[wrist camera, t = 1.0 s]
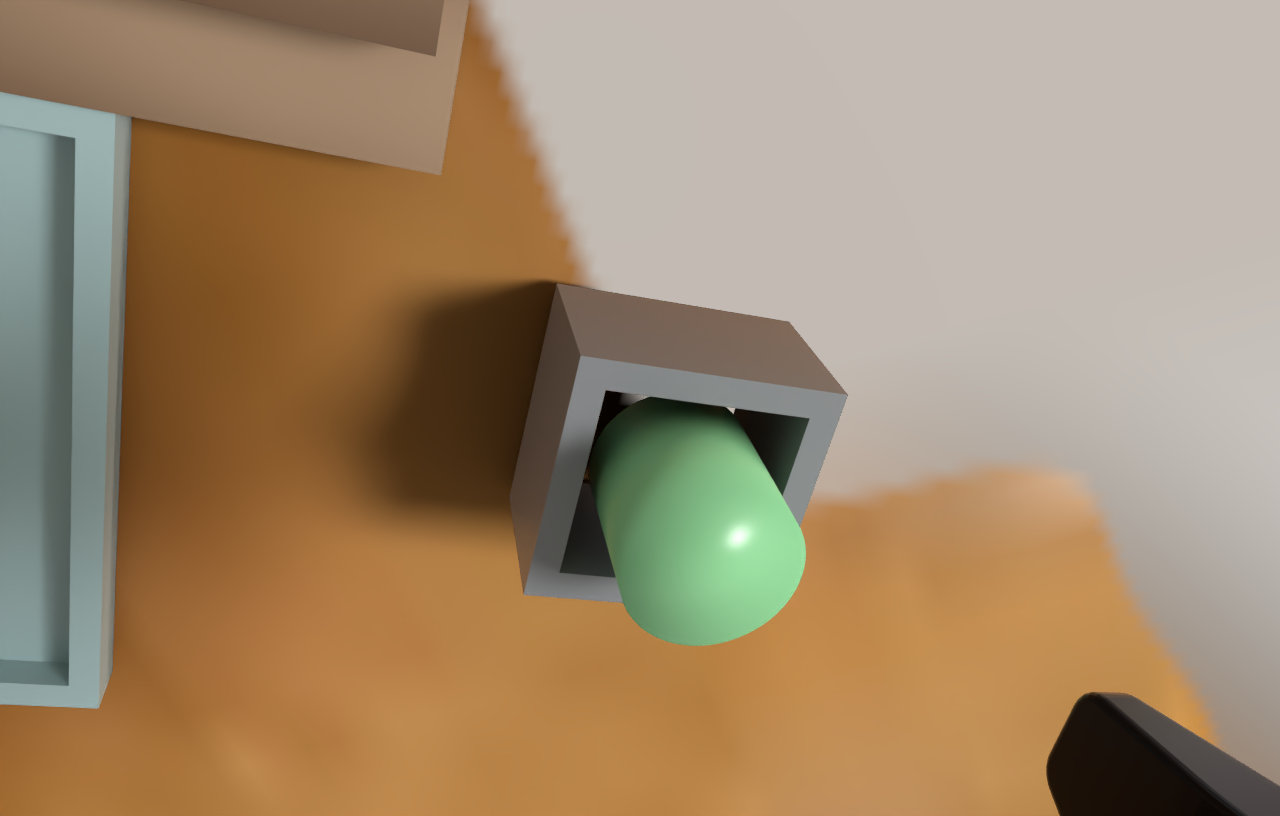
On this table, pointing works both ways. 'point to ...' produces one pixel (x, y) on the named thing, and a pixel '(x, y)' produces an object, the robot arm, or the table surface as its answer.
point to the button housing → (666, 368)
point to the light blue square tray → (60, 395)
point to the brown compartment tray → (251, 68)
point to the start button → (693, 522)
